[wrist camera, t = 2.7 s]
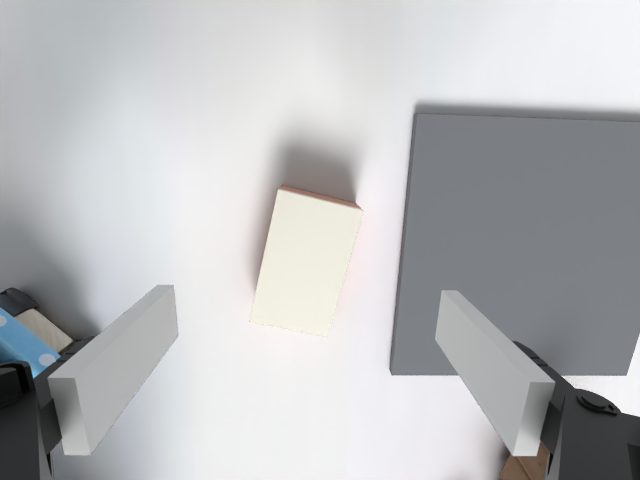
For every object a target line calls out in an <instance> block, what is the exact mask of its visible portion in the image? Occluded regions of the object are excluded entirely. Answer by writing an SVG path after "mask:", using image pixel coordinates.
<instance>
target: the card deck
mask: <svg viewBox="0 0 640 480" xmlns="http://www.w3.org/2000/svg"><path fill="white" fill-rule="evenodd" d="M363 212H364V211H363V210H362V209H361V208H360V207H359V206H358V205H357V204H356V203H352V202H348V201H344V200H340V199H336V198H332V197H328V196H324V195H320V194H316V193H312V192H308V191H304V190H300V189H296V188H292V187H288V186H284V185H282V186H281V187H280V188H279V189H278V192H277V196H276V201H275V205H274V210H273V214H272V219H271V224H270V228H269V233H268V237H267V242H266V247H265V251H264V256H263V260H262V265H261V269H260V274H259V279H258V283H257V288H256V292H255V297H254V301H253V306H252V311H251V315H250V320H249V322H252V323H257V324H262V325H267V326H272V327H277V328H282V329H287V330H291V331H296V332H301V333H306V334H311V335H316V336H321V337H326V338H328V334H329V331H330V327H331V324H332V320H333V317H334V313H335V310H336V306H337V303H338V299H339V296H340V292H341V289H342V285H343V282H344V278H345V275H346V271H347V268H348V264H349V261H350V257H351V254H352V250H353V247H354V244H355V240H356V237H357V233H358V230H359V226H360V223H361V219H362V216H363Z"/></svg>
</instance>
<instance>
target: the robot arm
mask: <svg viewBox="0 0 640 480" xmlns="http://www.w3.org/2000/svg"><path fill="white" fill-rule="evenodd" d="M177 337H178V326H177V315H176V305H175V294H174V285H157V286H156V287H154V288H153V289H152V290H151V291H150V292H148V293H147V294H146V295H145V296H144V297H143V298H141V299H140V300H139V301H138V302H137V303H135V304H134V305H133V306H132V307H131V308H129V309H128V310H127V311H126V312H125V313H124V314H122V315H121V316H120V317H119V318H118V319H116V320H115V321H114V322H113V323H112V324H110V325H109V326H108V327H107V328H106V329H104V330H103V331H102V332H101V333H100V334H99V335H97V336H91V337H89V338H87V339H85V340H83V341H81V342H79V343H77V344H76V345H74V346H73V347H72V348H71V349H69V350H68V351H67V352H66V353H65V355H62V356H61V357H60V358H58V359H57V360H56V362H53V363H52V364H51V365H50V366H48V367H47V368H46V369H45V370H43V371H42V372H41V373H40V374H38V375H37V376H36V377H35V378H33V375H32V371H31V367H30V364H29V363H28V362H26V361H22V360H20V361H9V362H4V363H0V480H54V471H53V460H52V456H51V452H50V451H51V450H52V449H53V448H54V447H55V446H56V445H57V444H58V442H59V441H60V440H61V442H62V447H63V451H64V455H91V454H92V452H93V451H94V450H95V448H96V447H97V446H98V444H99V443H100V441H101V440H102V439H103V437H104V436H105V435H106V433H107V432H108V431H109V429H110V428H111V427H112V425H113V424H114V422H115V421H116V420H117V418H118V417H119V416H120V414H121V413H122V412H123V410H124V409H125V408H126V406H127V405H128V403H129V402H130V401H131V399H132V398H133V397H134V395H135V394H136V393H137V391H138V390H139V389H140V387H141V386H142V385H143V383H144V382H145V380H146V379H147V378H148V376H149V375H150V374H151V372H152V371H153V370H154V368H155V367H156V366H157V364H158V363H159V361H160V360H161V359H162V357H163V356H164V355H165V353H166V352H167V351H168V349H169V348H170V347H171V345H172V344H173V343H174V341H175V340H176V338H177ZM435 340H436V342H437V343H438V345H439V346H440V348H441V349H442V351H443V352H444V354H445V355H446V357H447V358H448V360H449V361H450V363H451V364H452V366H453V367H454V369H455V370H456V372H457V373H458V375H459V376H460V378H461V379H462V381H463V382H464V384H465V385H466V387H467V388H468V390H469V391H470V393H471V394H472V396H473V397H474V399H475V400H476V402H477V403H478V405H479V406H480V408H481V409H482V411H483V412H484V414H485V415H486V417H487V418H488V420H489V421H490V423H491V424H492V426H493V427H494V429H495V430H496V432H497V433H498V435H499V436H500V438H501V439H502V441H503V442H504V444H505V445H506V447H507V448H508V450H509V451H510V453H511V454H512V456H537V452H538V448H539V444H540V440H541V441H542V442H543V444H544V445H545V446H546V447H547V449H548V450H549V451H550V452H549V456H548V460H547V463H546V467H545V471H544V474H543V478H542V480H640V417H638V416H633V415H629V414H624V413H621V411H620V410H619V409H618V408H617V407H616V406H615V405H614V404H613V403H612V402H610V401H609V400H607V399H605V398H604V397H602V396H600V395H598V394H595V393H593V392H590V391H586V390H583V389H575V388H574V387H573V386H572V385H571V384H570V383H568V382H567V381H566V380H565V379H564V378H563V377H562V376H560V375H559V374H558V373H557V372H556V371H555V370H554V369H553V368H551V367H550V366H548V364H547V363H546V362H545V361H544V360H542V359H540V357H539V356H538V355H537V354H536V353H535V352H533V351H532V350H531V349H530V348H528V347H526V346H525V345H523V344H521V343H519V342H517V341H511V340H510V339H509V338H508V337H506V336H505V335H504V334H503V333H502V332H501V331H500V330H499V329H498V328H497V327H496V326H495V325H494V324H493V323H491V322H490V321H489V320H488V319H487V318H486V317H485V316H484V315H483V314H482V313H481V312H480V311H479V310H478V309H476V308H475V307H474V306H473V305H472V304H471V303H470V302H469V301H468V300H467V299H466V298H465V297H464V296H463V295H461V294H460V293H459V292H458V291H457V290H442V292H441V299H440V306H439V313H438V320H437V328H436V335H435Z"/></svg>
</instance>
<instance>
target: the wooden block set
mask: <svg viewBox="0 0 640 480" xmlns="http://www.w3.org/2000/svg"><path fill="white" fill-rule="evenodd" d="M549 452H550V451H549V450H548V449H547V447H546V446H545V445H544V444H543V442H542V441H541V440H540V444H539V448H538V452H537V456H512V454H510V456H509V458H508V460H507V461H506V463H505V465H504V467H503V469H502V470H501V472H500V477H501V478H502V480H542V478H543V474H544V471H545V467H546V463H547V460H548V456H549Z"/></svg>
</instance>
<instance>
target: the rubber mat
mask: <svg viewBox="0 0 640 480" xmlns="http://www.w3.org/2000/svg"><path fill="white" fill-rule="evenodd" d="M442 290H457V291H458V292H459V293H460V294H461V295H463V296H464V297H465V298H466V299H467V300H468V301H469V302H470V303H471V304H472V305H473V306H474V307H475V308H476V309H478V310H479V311H480V312H481V313H482V314H483V315H484V316H485V317H486V318H487V319H488V320H489V321H490V322H491V323H493V324H494V325H495V326H496V327H497V328H498V329H499V330H500V331H501V332H502V333H503V334H504V335H505V336H506V337H508V338H509V339H510V340H511V341H517V342H519V343H521V344H523V345H525V346H526V347H528V348H530V349H531V350H532V351H533V352H535V353H536V354H537V355H538V356H539V357H540V359H542V360H544V361H545V362H546V363H547V364H548V366H550V367H551V368H553V369H554V370H555V371H556V372H557V373H558V374H559V375H603V376H626V375H627V372H628V369H629V366H630V362H631V359H632V356H633V353H634V350H635V346H636V343H637V340H638V337H639V333H640V122H628V121H602V120H576V119H549V118H523V117H496V116H470V115H443V114H415V115H414V121H413V131H412V142H411V152H410V162H409V173H408V183H407V193H406V204H405V214H404V225H403V235H402V245H401V256H400V266H399V276H398V287H397V297H396V307H395V318H394V328H393V339H392V349H391V359H390V372H391V375H458V373H457V372H456V370H455V369H454V367H453V366H452V364H451V363H450V361H449V360H448V358H447V357H446V355H445V354H444V352H443V351H442V349H441V348H440V346H439V345H438V343H437V342H436V340H435V335H436V328H437V320H438V313H439V306H440V299H441V292H442Z"/></svg>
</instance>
